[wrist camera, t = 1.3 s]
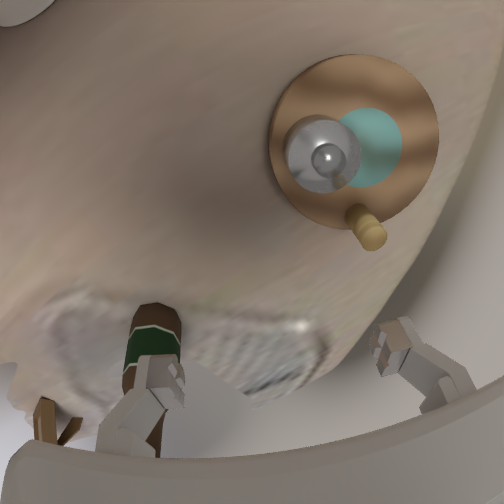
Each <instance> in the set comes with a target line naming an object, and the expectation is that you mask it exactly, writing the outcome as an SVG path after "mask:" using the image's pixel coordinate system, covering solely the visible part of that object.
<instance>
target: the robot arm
mask: <svg viewBox="0 0 504 504" xmlns="http://www.w3.org/2000/svg"><path fill="white" fill-rule="evenodd" d="M54 1H55V0H0V26H4V27H9V26H15V25H19V24H22V23H24V22H26V21H28V20H30V19H32V18H34V17H35V16H37V15H38V14H40V13H41V12H42V11H44V10H45V9H46V8H47V7H48V6H50V5H51V4H52V3H53V2H54ZM373 331H374V333H373V334H372V335H371V337H370V350H371V353H372V356H373V357H374V358H376V359H377V360H378V361H377V364H376V366H377V368H378V370H379V373H380V375H381V377H383V376H387V375H391V374H395V373H398V372H399V374H400V375H401V376H402V377H403V378H405V379H406V380H407V381H408V382H409V383H410V384H412V385H413V386H414V387H415V388H416V389H418V390H419V391H420V392H421V393H422V394H423V395H425V396H426V398H425V400H424V401H423V402H422V404H421V405H420V407H419V408H420V411H421V413H422V415H419V416H417V417H414V418H412V419H409V420H406V421H403V422H400V423H397V424H395V425H392V426H388V427H385V428H382V429H379V430H375V431H372V432H369V433H365V434H362V435H358V436H355V437H350V438H346V439H342V440H339V441H334V442H329V443H325V444H320V445H315V446H310V447H305V448H299V449H294V450H288V451H281V452H273V453H266V454H257V455H248V456H235V457H221V458H155V449H154V448H153V447H152V446H151V445H149V444H148V443H147V442H146V441H145V440H146V439H147V437H148V436H149V434H150V433H151V431H152V430H153V428H154V427H155V425H156V423H157V422H158V420H159V419H160V417H161V416H162V414H163V413H164V411H165V409H174V408H184V393H183V391H182V390H181V389H182V388H183V387H184V386H185V375H184V370H183V367H182V365H181V364H179V363H178V358H177V356H176V354H165V355H142V356H140V357H139V359H138V364H137V370H136V376H135V382H134V388H133V389H130V390H129V391H128V392H127V393H126V395H125V396H124V397H123V398H122V399H121V400H120V402H119V403H118V404H117V405H116V406H115V407H114V409H113V410H112V411H111V412H110V413H109V414H108V416H107V417H106V418H105V419H104V420H103V421H102V423H101V424H100V425H99V430H98V436H97V442H96V450H95V452H93V451H86V450H80V449H74V448H70V447H64V446H60V445H55V444H51V443H47V442H43V441H39V440H29V441H28V442H26V443H25V444H24V445H23V446H22V447H21V448H20V449H18V451H17V452H16V453H15V454H14V455H13V456H12V457H11V458H10V460H9V463H8V466H7V469H6V472H5V476H4V481H3V487H2V494H1V501H0V504H504V376H502V377H500V378H498V379H497V380H495V381H493V382H491V383H489V384H487V385H486V386H484V387H482V388H480V389H478V390H476V388H475V386H474V384H473V382H472V380H471V378H470V376H469V374H468V372H467V370H466V368H465V367H463V366H462V365H460V364H459V363H457V362H456V361H454V360H452V359H451V358H449V357H448V356H446V355H444V354H443V353H441V352H440V351H438V350H436V349H435V348H433V347H432V346H430V345H428V344H423V342H422V340H421V338H420V336H419V335H418V333H417V331H416V329H415V327H414V326H413V324H412V322H411V320H410V319H409V317H407V316H404V317H400V318H396V319H391V320H387V321H383V322H379V323H376V324H375V325H374V326H373Z"/></svg>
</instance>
